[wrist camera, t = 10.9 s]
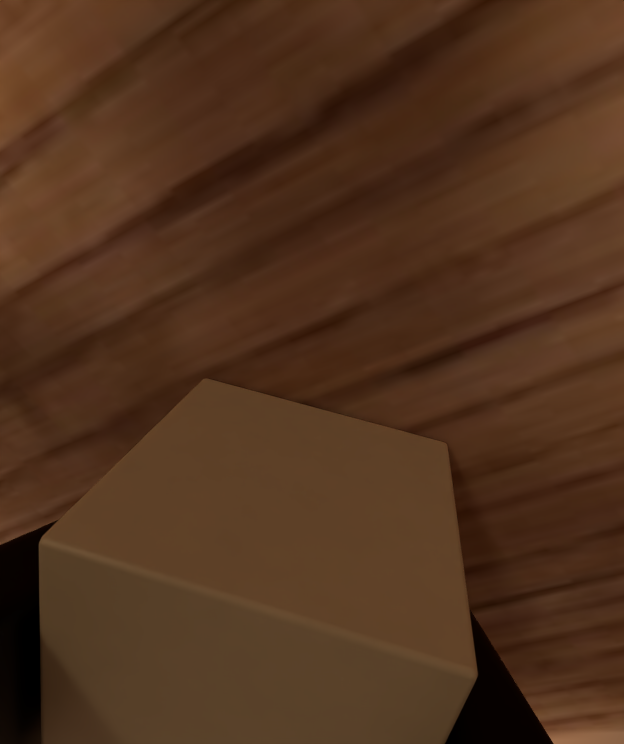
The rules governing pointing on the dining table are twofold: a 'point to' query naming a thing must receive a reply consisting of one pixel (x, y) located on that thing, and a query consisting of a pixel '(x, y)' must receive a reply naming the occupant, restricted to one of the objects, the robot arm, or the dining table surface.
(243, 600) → the block
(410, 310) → the dining table surface
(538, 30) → the dining table surface
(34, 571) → the robot arm
